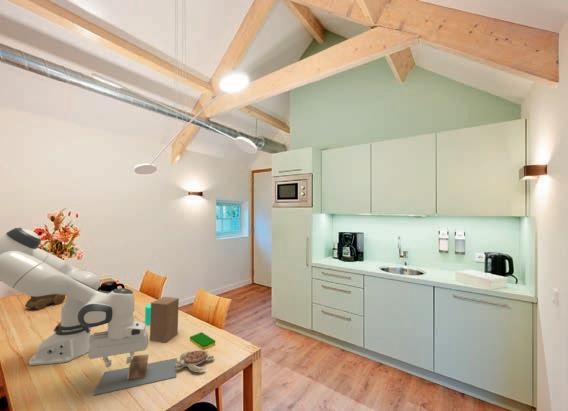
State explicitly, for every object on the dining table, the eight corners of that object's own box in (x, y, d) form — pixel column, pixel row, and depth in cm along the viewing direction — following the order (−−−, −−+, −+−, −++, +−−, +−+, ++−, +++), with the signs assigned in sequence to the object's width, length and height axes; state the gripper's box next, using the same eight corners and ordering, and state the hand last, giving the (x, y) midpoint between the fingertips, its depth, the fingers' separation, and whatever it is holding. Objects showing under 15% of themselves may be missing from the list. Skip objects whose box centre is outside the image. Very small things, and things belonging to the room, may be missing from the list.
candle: (142, 324, 148) (143, 304, 148) (151, 320, 153) (151, 301, 154) (149, 326, 146) (150, 305, 146) (158, 322, 151) (158, 302, 152)
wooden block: (165, 343, 127) (167, 304, 127) (149, 340, 129) (150, 302, 129) (177, 334, 136) (179, 297, 137) (162, 332, 138) (163, 296, 139)
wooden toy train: (58, 300, 186) (59, 278, 186) (68, 302, 182) (69, 279, 183) (23, 309, 167) (24, 285, 167) (33, 312, 163) (34, 287, 164)
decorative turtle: (167, 361, 110) (167, 350, 110) (201, 349, 122) (202, 338, 122) (183, 381, 97) (184, 368, 97) (220, 365, 109) (221, 354, 109)
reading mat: (93, 395, 89) (93, 394, 89) (104, 372, 102) (104, 371, 102) (176, 377, 100) (176, 376, 100) (177, 358, 113) (177, 357, 113)
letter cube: (129, 364, 97) (146, 362, 100) (132, 355, 103) (148, 354, 105) (127, 379, 97) (144, 377, 99) (130, 370, 103) (146, 368, 105)
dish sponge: (201, 336, 135) (201, 331, 135) (215, 345, 126) (215, 340, 126) (189, 341, 130) (189, 336, 130) (203, 351, 121) (203, 346, 121)
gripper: (86, 337, 92) (84, 374, 92) (147, 329, 100) (145, 363, 99) (92, 330, 98) (90, 365, 97) (149, 322, 106) (148, 355, 105)
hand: (118, 364), depth 98 cm, fingers open, 6 cm apart
